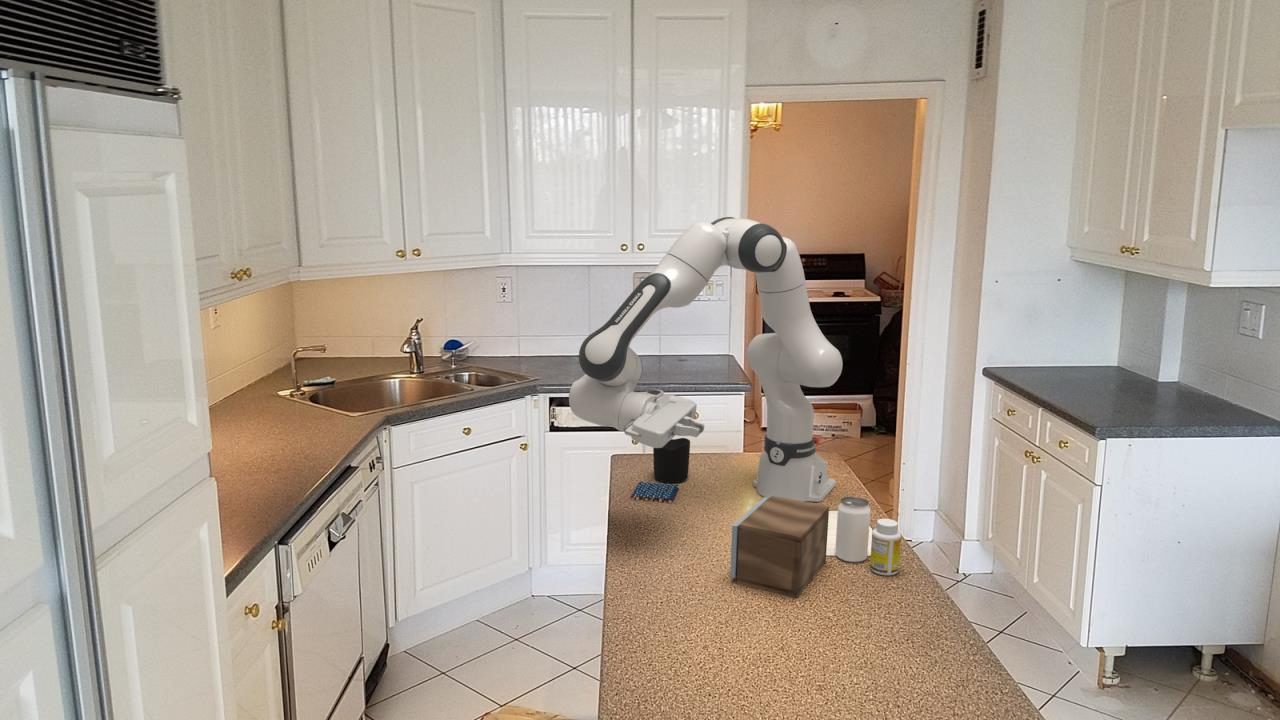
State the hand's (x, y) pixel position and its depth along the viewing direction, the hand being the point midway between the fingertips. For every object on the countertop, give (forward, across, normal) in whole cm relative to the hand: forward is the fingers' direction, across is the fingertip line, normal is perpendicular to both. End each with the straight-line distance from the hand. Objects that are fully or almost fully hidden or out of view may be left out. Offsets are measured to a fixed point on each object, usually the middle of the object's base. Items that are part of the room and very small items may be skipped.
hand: (701, 430), depth 186 cm
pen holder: (-17, +34, +31) cm, 49 cm away
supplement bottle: (+41, +2, +20) cm, 46 cm away
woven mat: (-16, +22, +30) cm, 41 cm away
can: (+34, +6, +22) cm, 40 cm away
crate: (+23, -8, +22) cm, 32 cm away
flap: (+16, -7, +22) cm, 28 cm away
